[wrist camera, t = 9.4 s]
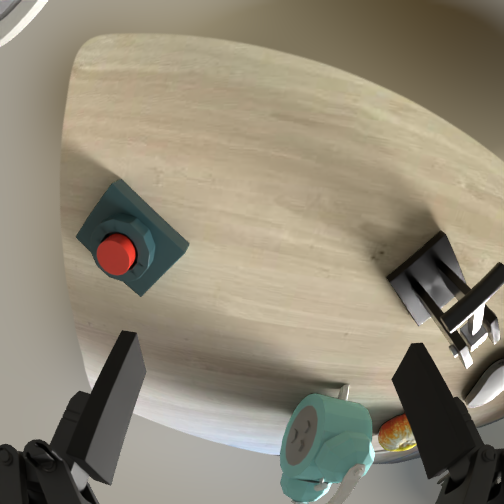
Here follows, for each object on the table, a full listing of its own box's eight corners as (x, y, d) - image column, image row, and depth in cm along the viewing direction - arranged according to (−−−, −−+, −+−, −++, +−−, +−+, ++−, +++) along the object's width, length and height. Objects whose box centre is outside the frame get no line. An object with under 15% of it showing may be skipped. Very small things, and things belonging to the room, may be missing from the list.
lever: (435, 309, 16) (453, 336, 14) (494, 253, 14) (515, 277, 12) (446, 345, 24) (457, 363, 22) (487, 310, 22) (498, 326, 20)
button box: (84, 229, 29) (66, 244, 25) (121, 178, 26) (103, 187, 23) (146, 286, 32) (135, 306, 28) (189, 243, 29) (181, 261, 26)
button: (98, 249, 26) (90, 257, 24) (116, 225, 25) (108, 232, 23) (124, 273, 27) (117, 282, 25) (143, 251, 26) (137, 259, 24)
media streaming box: (459, 404, 46) (463, 413, 44) (489, 361, 40) (496, 370, 37) (493, 391, 47) (498, 399, 44) (522, 350, 40) (528, 358, 38)
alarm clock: (315, 429, 46) (327, 521, 28) (269, 423, 44) (272, 524, 26) (370, 374, 39) (405, 487, 21) (318, 365, 37) (343, 497, 19)
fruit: (433, 406, 45) (438, 439, 39) (403, 422, 51) (406, 451, 46) (396, 410, 43) (400, 448, 37) (366, 425, 50) (368, 458, 44)
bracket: (385, 277, 31) (435, 352, 20) (440, 230, 28) (508, 286, 17) (415, 321, 34) (455, 389, 23) (462, 281, 31) (514, 338, 20)
